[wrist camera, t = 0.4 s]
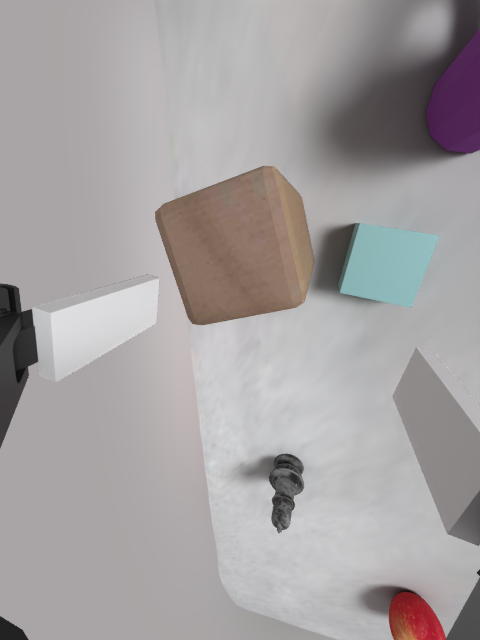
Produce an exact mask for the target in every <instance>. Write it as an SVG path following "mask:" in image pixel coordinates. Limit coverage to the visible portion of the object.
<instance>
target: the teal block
mask: <svg viewBox="0 0 480 640" xmlns="http://www.w3.org/2000/svg"><path fill="white" fill-rule="evenodd" d="M439 237H440V236H439V235H432V234H426V233H419V232H413V231H406V230H400V229H393V228H387V227H380V226H374V225H367V224H361V223H355V226H354V230H353V233H352V237H351V240H350V244H349V247H348V251H347V254H346V258H345V262H344V265H343V269H342V272H341V276H340V279H339V283H338V287H339V292H340V293H343V294H348V295H353V296H357V297H362V298H367V299H372V300H377V301H382V302H387V303H391V304H396V305H401V306H406V307H412V304H413V302H414V299H415V297H416V294H417V292H418V289H419V287H420V284H421V282H422V279H423V277H424V274H425V272H426V269H427V267H428V264H429V262H430V259H431V257H432V254H433V252H434V249H435V247H436V244H437V242H438V239H439Z"/></svg>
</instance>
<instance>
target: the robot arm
mask: <svg viewBox="0 0 480 640" xmlns="http://www.w3.org/2000/svg"><path fill="white" fill-rule="evenodd" d="M159 282H160V278H159V277H155V276H151V275H148V274H147V275H144V276H140V277H137V278H133V279H129V280H126V281H122V282H119V283H115V284H112V285H109V286H105V287H102V288H98V289H94V290H90V291H87V292H84V293H80V294H76V295H73V296H69V297H66V298H62V299H59V300H55V301H51V302H48V303H44V304H41V305H37V306H34V307H32V309H30V310H27V311H23V312H21V303H20V295H19V288H17V287H16V286H12V285H8V284H0V447H1V445H2V442H3V440H4V437H5V435H6V432H7V430H8V427H9V425H10V422H11V419H12V417H13V414H14V412H15V409H16V407H17V404H18V402H19V399H20V397H21V394H22V391H23V389H24V386H25V384H26V381H27V379H28V376H29V373H28V366H30V365H32V364H34V363H36V362H37V363H38V372H39V376H40V377H43V378H45V379H48V380H50V381H53V382H58V381H59V380H61V379H63V378H64V377H66V376H68V375H69V374H71V373H73V372H74V371H76V370H78V369H80V368H81V367H83V366H84V365H86V364H88V363H90V362H92V361H93V360H95V359H97V358H98V357H100V356H102V355H103V354H105V353H107V352H108V351H110V350H112V349H114V348H115V347H117V346H119V345H120V344H122V343H124V342H126V341H127V340H129V339H131V338H132V337H134V336H136V335H137V334H139V333H141V332H143V331H144V330H146V329H148V328H149V327H151V326H153V325H154V324H156V319H157V305H158V293H159ZM393 399H394V401H395V404H396V406H397V409H398V411H399V414H400V416H401V419H402V421H403V424H404V426H405V429H406V431H407V434H408V436H409V439H410V441H411V444H412V446H413V449H414V451H415V454H416V456H417V459H418V461H419V464H420V467H421V469H422V472H423V474H424V477H425V479H426V482H427V484H428V487H429V489H430V492H431V494H432V497H433V499H434V502H435V504H436V507H437V509H438V512H439V514H440V517H441V519H442V522H443V524H444V527H445V529H446V532H447V534H449V535H452V536H454V537H457V538H460V539H462V540H465V541H467V542H470V543H472V544H475V545H478V546H479V545H480V405H479V403H478V402H477V401H476V400H475V399H474V398H473V396H472V395H471V394H470V393H469V392H468V391H467V389H466V388H465V387H464V386H463V385H462V384H461V383H460V381H459V380H458V379H457V378H456V377H455V376H454V374H453V373H452V372H451V371H450V370H449V369H448V367H447V366H446V365H445V364H444V363H443V362H442V361H441V359H440V358H439V357H438V356H437V355H436V354H435V352H431V351H428V350H424V349H420V348H417V347H416V349H415V351H414V353H413V355H412V357H411V359H410V361H409V363H408V366H407V368H406V370H405V372H404V374H403V376H402V378H401V380H400V382H399V384H398V386H397V388H396V390H395V393H394V395H393ZM477 574H478V575H479V576H480V570H479V571H478V572H477ZM0 640H28V638H27V637H26V635H25V633H24V632H23V630H22V629H20V628H18V627H17V626H15V625H14V624H12V623H10V622H9V621H7V620H5V619H4V618H2V617H0ZM446 640H480V578H479V580H478V582H477V584H476V585H475V587H474V589H473V591H472V593H471V594H470V596H469V598H468V600H467V602H466V603H465V605H464V607H463V609H462V611H461V612H460V614H459V616H458V618H457V620H456V622H455V623H454V625H453V627H452V629H451V631H450V632H449V634H448V636H447V638H446Z"/></svg>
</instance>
